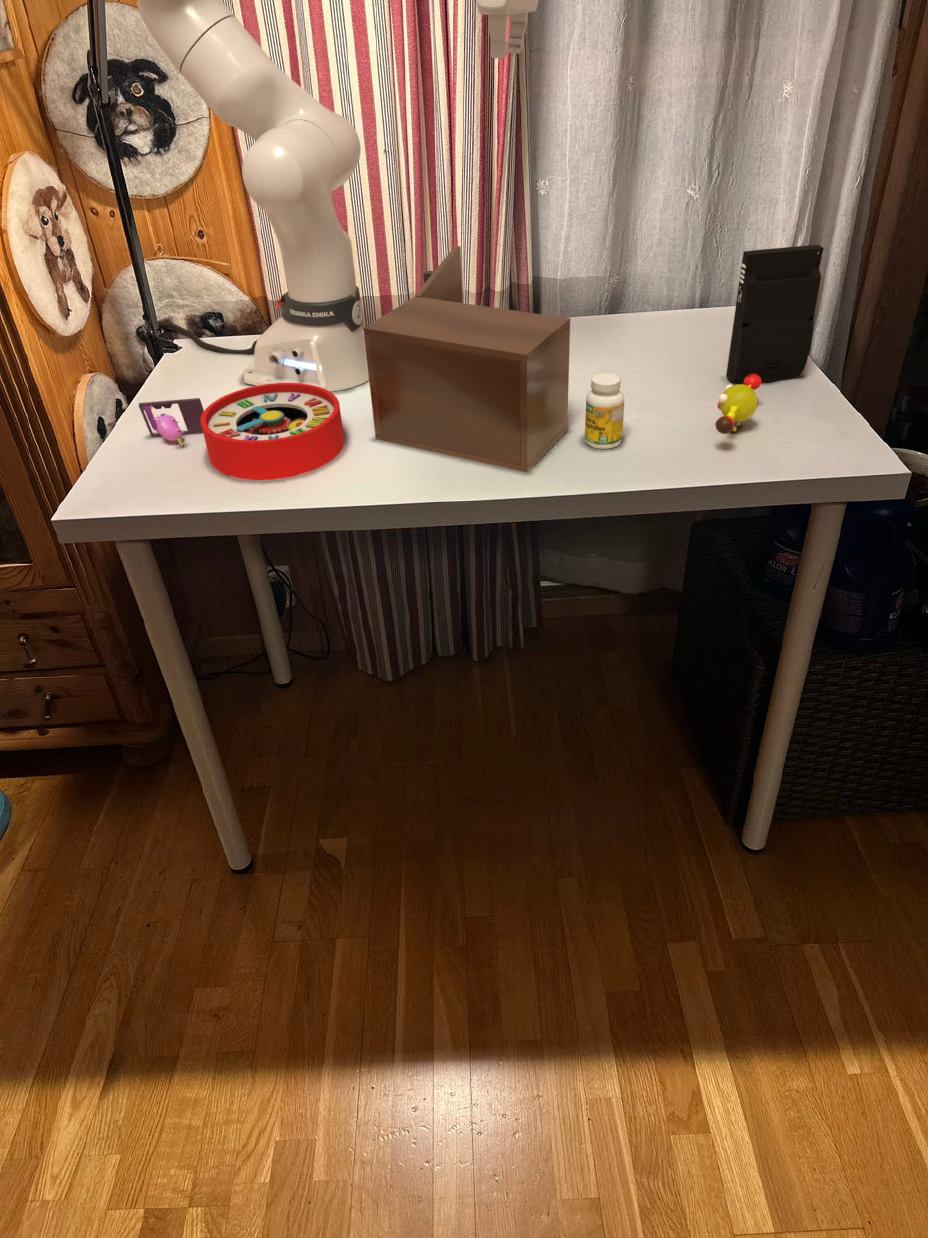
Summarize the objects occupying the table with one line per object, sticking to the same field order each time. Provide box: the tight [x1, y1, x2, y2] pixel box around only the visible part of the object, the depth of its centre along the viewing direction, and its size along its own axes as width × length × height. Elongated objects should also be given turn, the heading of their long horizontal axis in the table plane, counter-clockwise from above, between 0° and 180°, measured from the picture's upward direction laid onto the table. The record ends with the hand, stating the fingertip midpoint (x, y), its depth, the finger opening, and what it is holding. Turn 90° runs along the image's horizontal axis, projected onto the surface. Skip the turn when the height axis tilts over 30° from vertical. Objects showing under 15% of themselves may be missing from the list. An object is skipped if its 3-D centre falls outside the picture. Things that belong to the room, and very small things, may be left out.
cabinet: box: [363, 295, 571, 473], centre depth 132 cm, size 14×25×17 cm, turn 61°
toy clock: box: [201, 383, 345, 481], centre depth 135 cm, size 20×6×20 cm
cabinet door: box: [414, 245, 464, 303], centre depth 153 cm, size 6×25×17 cm, turn 166°
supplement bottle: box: [584, 373, 625, 450], centre depth 131 cm, size 5×5×10 cm
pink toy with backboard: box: [138, 397, 205, 447], centre depth 138 cm, size 7×5×9 cm
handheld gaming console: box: [725, 244, 824, 384], centre depth 143 cm, size 12×5×20 cm, turn 98°
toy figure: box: [715, 374, 763, 435], centre depth 133 cm, size 18×6×7 cm, turn 152°
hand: (506, 55), depth 120 cm, fingers open, 8 cm apart
